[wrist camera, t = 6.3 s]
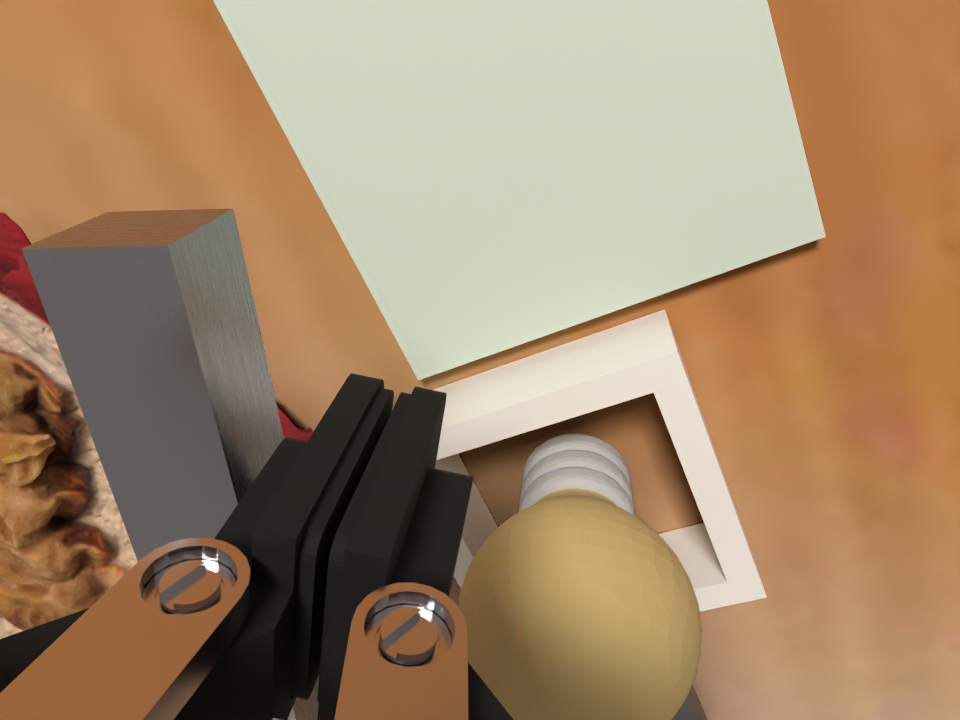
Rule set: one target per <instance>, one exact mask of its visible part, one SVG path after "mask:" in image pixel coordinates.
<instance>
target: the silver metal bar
mask: <svg viewBox="0 0 960 720" xmlns="http://www.w3.org/2000/svg"><path fill="white" fill-rule="evenodd" d="M22 251H23V253H24V256H25V259H26V261H27V264H28V267H29V270H30V272H31V275H32V278H33V280H34V283H35V286H36V288H37V291H38V294H39V297H40V299H41V302H42V305H43V307H44V310H45V313H46V315H47V318H48V321H49V324H50V326H51V329H52V332H53V334H54V337H55V340H56V342H57V345H58V348H59V350H60V353H61V356H62V359H63V361H64V364H65V367H66V369H67V372H68V375H69V377H70V380H71V383H72V386H73V388H74V391H75V394H76V396H77V399H78V402H79V404H80V407H81V410H82V413H83V415H84V418H85V421H86V423H87V426H88V429H89V431H90V434H91V437H92V440H93V442H94V445H95V448H96V450H97V453H98V456H99V458H100V461H101V464H102V467H103V469H104V472H105V475H106V477H107V480H108V483H109V485H110V488H111V491H112V494H113V496H114V499H115V502H116V504H117V507H118V510H119V512H120V515H121V518H122V521H123V523H124V526H125V529H126V531H127V534H128V537H129V539H130V542H131V545H132V548H133V550H134V553H135V556H136V558H137V561H138V562H139V561H140V560H141V559H142V558H144V557H145V556H146V555H148V554H149V553H150V552H152V551H153V550H155V549H157V548H159V547H161V546H164V545H166V544H168V543H170V542H174V541H178V540H183V539H187V538H212V539H214V538H215V537H216V535H217V534H218V532H219V531H220V529H221V528H222V527H223V525H224V524H225V522H226V521H227V519H228V518H229V516H230V515H231V514H232V512H233V511H234V509H235V508H236V506H237V505H238V503H239V502H240V501H241V499H242V498H243V496H244V495H245V493H246V492H247V490H248V489H249V487H250V486H251V485H252V483H253V482H254V480H255V479H256V477H257V476H258V474H259V473H260V472H261V470H262V469H263V467H264V466H265V464H266V463H267V461H268V460H269V459H270V457H271V456H272V454H273V453H274V451H275V450H276V448H277V447H278V446H279V444H280V443H281V442H282V441H283V440H284V436H283V432H282V427H281V423H280V418H279V414H278V409H277V405H276V400H275V396H274V391H273V386H272V382H271V377H270V373H269V368H268V364H267V359H266V355H265V350H264V346H263V341H262V337H261V332H260V327H259V323H258V318H257V314H256V309H255V305H254V300H253V296H252V291H251V287H250V282H249V278H248V273H247V268H246V264H245V259H244V255H243V250H242V246H241V241H240V237H239V232H238V228H237V223H236V219H235V214H234V209H205V210H166V211H128V212H107V213H105V214H102V215H100V216H98V217H95V218H93V219H90V220H88V221H86V222H83V223H81V224H79V225H76V226H74V227H71V228H69V229H67V230H64V231H62V232H60V233H57V234H55V235H52V236H50V237H48V238H45V239H43V240H41V241H38V242H36V243H33V244H31V245H29V246H26V247H24V248H22ZM318 684H319V676H318V679H317V681H316V684H315V686H314V689H313V691H312V694H311V696H310V697H309V699H308V700H305V699H301V698H296V700H295V702H294V705H293V707H292V710H291V712H290V715H289V717H288V719H287V720H317V717H318V705H319V702H318V701H317V697H318ZM272 720H280V719H276V718H273V719H272Z"/></svg>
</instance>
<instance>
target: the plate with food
mask: <svg viewBox="0 0 960 720" xmlns="http://www.w3.org/2000/svg"><path fill="white" fill-rule="evenodd" d="M29 245H31V243H30V241H29V240H28V238H27V236H26V235H25V233H24V232H23V230H22V229H21V227H20V226H19V225H18V224H16V223H15V222H14V221H13V220H11V219H10V218H9V217H8V216H7V215H6V214H4V213H0V639H2V638H5V637H7V636H10V635H13V634H16V633H19V632H22V631H25V630H27V629H30V628H33V627H36V626H39V625H42V624H45V623H47V622H50V621H53V620H56V619H59V618H62V617H65V616H67V615H70V614H73V613H76V612H79V611H82V610H85V609H88V608H90V607H91V606H92V605H93V604H94V603H95V602H97V601H98V600H99V599H100V598H101V597H102V596H103V595H104V594H105V593H106V592H107V591H108V590H109V589H110V588H111V587H112V586H113V585H114V584H115V583H117V582H118V581H119V580H120V579H121V578H122V577H123V576H124V575H125V574H126V573H127V572H128V571H129V570H130V569H131V568H132V567H133V566H134V565H135V564H137V563H138V561H137V558H136V556H135V553H134V550H133V548H132V545H131V542H130V539H129V537H128V534H127V531H126V529H125V526H124V523H123V521H122V518H121V515H120V512H119V510H118V507H117V504H116V502H115V499H114V496H113V494H112V491H111V488H110V485H109V483H108V480H107V477H106V475H105V472H104V469H103V467H102V464H101V461H100V458H99V456H98V453H97V450H96V448H95V445H94V442H93V440H92V437H91V434H90V431H89V429H88V426H87V423H86V421H85V418H84V415H83V413H82V410H81V407H80V404H79V402H78V399H77V396H76V394H75V391H74V388H73V386H72V383H71V380H70V377H69V375H68V372H67V369H66V367H65V364H64V361H63V359H62V356H61V353H60V350H59V348H58V345H57V342H56V340H55V337H54V334H53V332H52V329H51V326H50V324H49V321H48V318H47V315H46V313H45V310H44V307H43V305H42V302H41V299H40V297H39V294H38V291H37V288H36V286H35V283H34V280H33V278H32V275H31V272H30V270H29V267H28V264H27V261H26V259H25V256H24V253H23V251H22V248H24V247H26V246H29ZM277 409H278V414H279V418H280V423H281V427H282V432H283V436H284V439H285V438H288V437H289V438H293V439H298V440H303V441H308V440H309V438H310V437H311V435H312V434H313V431H312V429H311V428H308V429H304V430H301V429H298V428H297V427H295V426H294V425H293V424H292V422H291V421H290V420H289V419H288V417H287V416H286V415H285V414H284V413H283V412H282V411H281V410H280V409H279V408H278V406H277Z"/></svg>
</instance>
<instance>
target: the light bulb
mask: <svg viewBox="0 0 960 720" xmlns="http://www.w3.org/2000/svg"><path fill="white" fill-rule="evenodd" d="M458 607H459V609H460V610H461V612H462V614H463V616H464V617H465V622H466V627H467V632H468V663H469V664H470V665H471V666H472V668H473V669H474V670H475V672H476V673H477V674H478V675H479V677H480V678H481V679H482V680H483V682H484V683H485V684H486V685H487V687H488V688H489V689H490V690H491V692H492V693H493V694H494V696H495V697H496V698H497V699H498V701H499V702H500V703H501V704H502V706H503V707H504V708H505V709H506V711H507V712H508V713H509V714H510V716H511V717H512V718H513V720H671V719H672V718H673V717H674V716H675V714H676V713H677V711H678V710H679V708H680V707H681V706H682V704H683V703H684V701H685V700H686V697H687V695H688V693H689V691H690V689H691V686H692V684H693V681H694V678H695V676H696V673H697V668H698V663H699V659H700V652H701V637H702V626H701V619H700V611H699V604H698V601H697V598H696V595H695V592H694V589H693V586H692V584H691V581H690V578H689V576H688V575H687V573H686V571H685V569H684V568H683V566H682V564H681V562H680V561H679V559H678V557H677V555H676V554H675V553H674V552H673V550H672V549H671V548H670V547H669V545H668V544H667V543H666V542H665V541H664V539H663V538H662V537H660V536H659V535H658V534H657V533H656V532H655V531H654V530H653V529H652V528H650V527H649V526H648V525H647V524H646V523H645V522H643V521H642V520H640V519H639V518H637V517H635V511H634V508H633V495H632V489H631V478H630V472H629V468H628V466H627V464H626V462H625V460H624V459H623V457H622V456H621V454H620V453H619V452H618V451H617V450H616V449H615V448H614V447H612V446H611V445H610V444H608V443H607V442H605V441H603V440H601V439H599V438H596V437H593V436H590V435H585V434H565V435H560V436H557V437H554V438H551V439H548V440H547V441H545V442H544V443H542V444H541V445H539V446H537V448H536V449H535V450H534V451H533V452H532V453H531V454H530V456H529V458H528V459H527V461H526V464H525V466H524V469H523V475H522V487H521V493H520V504H519V512H518V513H517V514H515V515H513V516H512V517H510V518H509V519H508V520H506V521H505V522H504V523H503V524H501V525H500V526H499V527H497V528H496V530H495V531H494V532H493V533H492V534H491V535H490V536H489V537H488V538H487V539H486V541H485V542H484V543H483V545H482V546H481V547H480V549H479V550H478V552H477V553H476V555H475V556H474V558H473V560H472V562H471V564H470V565H469V568H468V570H467V573H466V575H465V578H464V581H463V585H462V588H461V591H460V595H459V605H458Z"/></svg>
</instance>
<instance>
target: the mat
mask: <svg viewBox="0 0 960 720" xmlns="http://www.w3.org/2000/svg"><path fill="white" fill-rule="evenodd" d="M213 1H214V3H215V5H216V7H217V9H218V10H219V12H220V14H221V16H222V18H223V20H224V22H225V23H226V25H227V27H228V29H229V31H230V33H231V34H232V36H233V38H234V40H235V42H236V44H237V46H238V47H239V49H240V51H241V53H242V55H243V57H244V59H245V60H246V62H247V64H248V66H249V68H250V70H251V72H252V73H253V75H254V77H255V79H256V81H257V83H258V84H259V86H260V88H261V90H262V92H263V94H264V96H265V97H266V99H267V101H268V103H269V105H270V107H271V109H272V110H273V112H274V114H275V116H276V118H277V120H278V122H279V123H280V125H281V127H282V129H283V131H284V133H285V134H286V136H287V138H288V140H289V142H290V144H291V146H292V147H293V149H294V151H295V153H296V155H297V157H298V159H299V160H300V162H301V164H302V166H303V168H304V170H305V172H306V173H307V175H308V177H309V179H310V181H311V183H312V185H313V186H314V188H315V190H316V192H317V194H318V196H319V197H320V199H321V201H322V203H323V205H324V207H325V209H326V210H327V212H328V214H329V216H330V218H331V220H332V222H333V223H334V225H335V227H336V229H337V231H338V233H339V235H340V236H341V238H342V240H343V242H344V244H345V246H346V247H347V249H348V251H349V253H350V255H351V257H352V259H353V260H354V262H355V264H356V266H357V268H358V270H359V272H360V273H361V275H362V277H363V279H364V281H365V283H366V285H367V286H368V288H369V290H370V292H371V294H372V296H373V297H374V299H375V301H376V303H377V305H378V307H379V309H380V310H381V312H382V314H383V316H384V318H385V320H386V322H387V323H388V325H389V327H390V329H391V331H392V333H393V335H394V336H395V338H396V340H397V342H398V344H399V346H400V348H401V349H402V351H403V353H404V355H405V357H406V359H407V360H408V362H409V364H410V366H411V368H412V370H413V372H414V373H415V375H416V377H417V379H418V380H421V379H424V378H427V377H430V376H433V375H435V374H438V373H441V372H444V371H447V370H450V369H452V368H455V367H458V366H461V365H464V364H467V363H469V362H472V361H475V360H478V359H481V358H484V357H486V356H489V355H492V354H495V353H498V352H501V351H503V350H506V349H509V348H512V347H515V346H518V345H520V344H523V343H526V342H529V341H532V340H535V339H537V338H540V337H543V336H546V335H549V334H552V333H554V332H557V331H560V330H563V329H566V328H569V327H571V326H574V325H577V324H580V323H583V322H586V321H588V320H591V319H594V318H597V317H600V316H603V315H605V314H608V313H611V312H614V311H617V310H620V309H622V308H625V307H628V306H631V305H634V304H637V303H639V302H642V301H645V300H648V299H651V298H654V297H656V296H659V295H662V294H665V293H668V292H671V291H673V290H676V289H679V288H682V287H685V286H688V285H690V284H693V283H696V282H699V281H702V280H705V279H707V278H710V277H713V276H716V275H719V274H722V273H724V272H727V271H730V270H733V269H736V268H739V267H741V266H744V265H747V264H750V263H753V262H756V261H758V260H761V259H764V258H767V257H770V256H773V255H775V254H778V253H781V252H784V251H787V250H790V249H792V248H795V247H798V246H801V245H804V244H807V243H809V242H812V241H815V240H818V239H821V238H824V237H826V236H825V232H824V228H823V224H822V220H821V216H820V212H819V208H818V204H817V200H816V196H815V192H814V188H813V184H812V180H811V176H810V172H809V168H808V164H807V160H806V156H805V152H804V148H803V143H802V139H801V135H800V131H799V127H798V123H797V119H796V115H795V111H794V107H793V103H792V99H791V95H790V91H789V87H788V83H787V79H786V75H785V71H784V67H783V63H782V59H781V55H780V51H779V47H778V43H777V39H776V35H775V31H774V27H773V23H772V19H771V15H770V11H769V7H768V3H767V0H213Z"/></svg>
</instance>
